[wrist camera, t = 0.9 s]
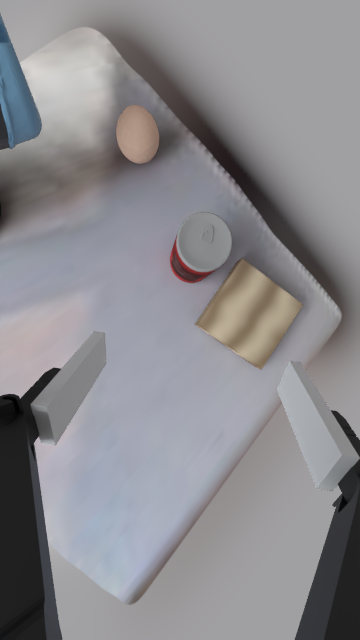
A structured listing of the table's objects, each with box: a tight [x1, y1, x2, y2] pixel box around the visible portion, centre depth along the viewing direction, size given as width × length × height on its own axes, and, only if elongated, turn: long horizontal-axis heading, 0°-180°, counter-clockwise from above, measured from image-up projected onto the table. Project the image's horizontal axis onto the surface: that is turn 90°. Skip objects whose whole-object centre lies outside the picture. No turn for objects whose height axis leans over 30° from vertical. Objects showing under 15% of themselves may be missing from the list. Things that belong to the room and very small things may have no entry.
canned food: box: [170, 212, 232, 283], centre depth 35 cm, size 8×8×11 cm
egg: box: [116, 105, 159, 164], centre depth 35 cm, size 7×7×8 cm
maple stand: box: [195, 258, 303, 370], centre depth 40 cm, size 14×14×3 cm
